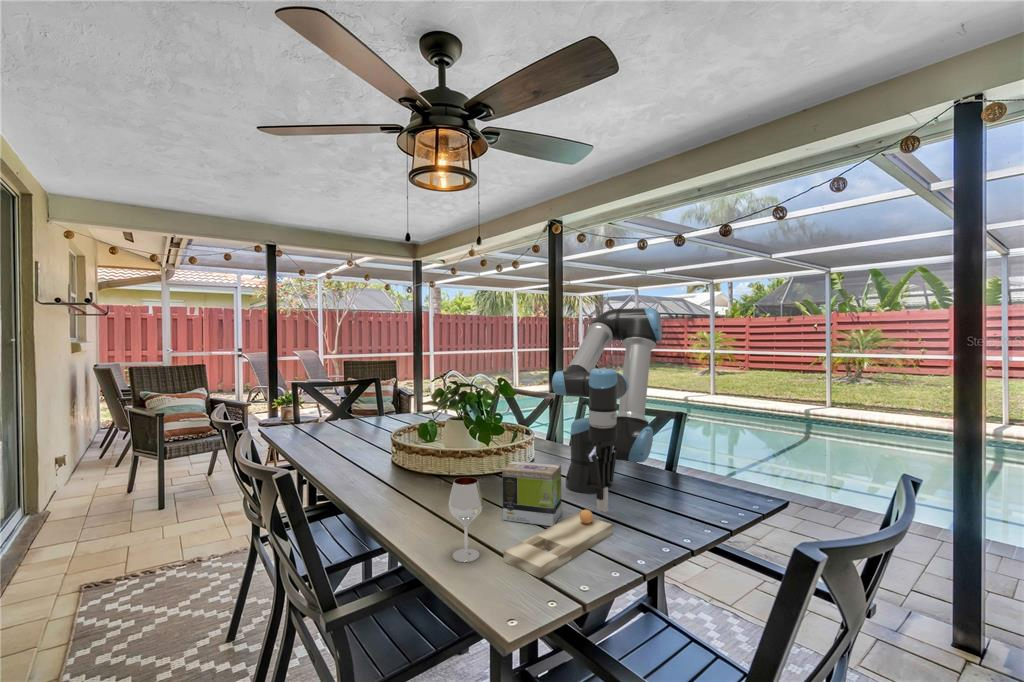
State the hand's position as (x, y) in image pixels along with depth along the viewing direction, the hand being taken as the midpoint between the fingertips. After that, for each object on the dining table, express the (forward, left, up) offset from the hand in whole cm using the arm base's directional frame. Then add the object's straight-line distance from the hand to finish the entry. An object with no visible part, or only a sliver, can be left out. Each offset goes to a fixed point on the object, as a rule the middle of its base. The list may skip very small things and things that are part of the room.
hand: (602, 509), depth 131 cm
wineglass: (-14, -38, -4) cm, 41 cm away
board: (0, -19, -4) cm, 19 cm away
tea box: (-17, -10, -4) cm, 20 cm away
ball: (0, -8, 0) cm, 8 cm away
